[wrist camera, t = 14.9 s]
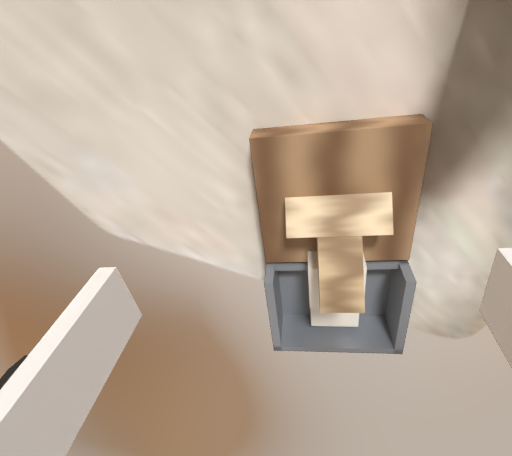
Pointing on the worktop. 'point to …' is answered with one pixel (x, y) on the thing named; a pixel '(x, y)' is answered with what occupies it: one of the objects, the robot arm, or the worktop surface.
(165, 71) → the worktop surface
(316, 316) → the tile
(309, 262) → the tile
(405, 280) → the tray
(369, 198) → the scraper
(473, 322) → the worktop surface
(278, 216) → the board
